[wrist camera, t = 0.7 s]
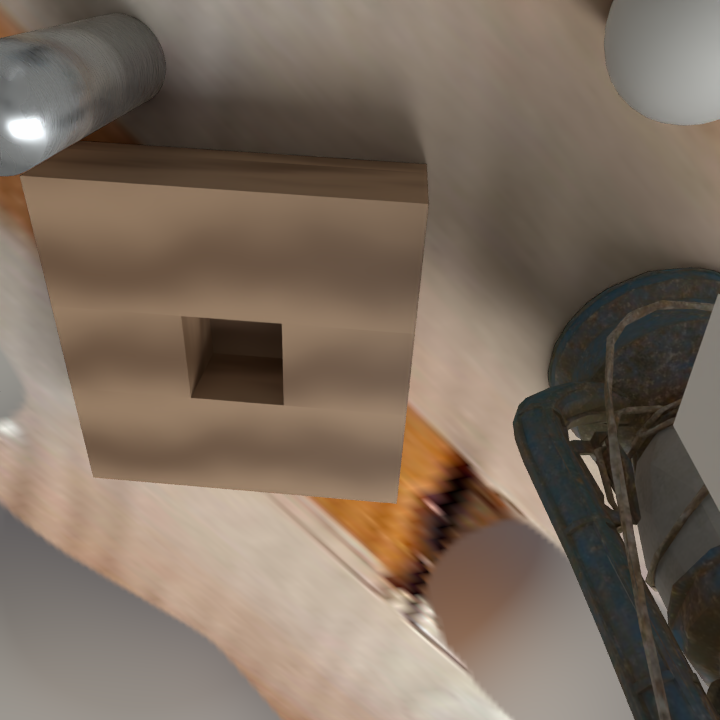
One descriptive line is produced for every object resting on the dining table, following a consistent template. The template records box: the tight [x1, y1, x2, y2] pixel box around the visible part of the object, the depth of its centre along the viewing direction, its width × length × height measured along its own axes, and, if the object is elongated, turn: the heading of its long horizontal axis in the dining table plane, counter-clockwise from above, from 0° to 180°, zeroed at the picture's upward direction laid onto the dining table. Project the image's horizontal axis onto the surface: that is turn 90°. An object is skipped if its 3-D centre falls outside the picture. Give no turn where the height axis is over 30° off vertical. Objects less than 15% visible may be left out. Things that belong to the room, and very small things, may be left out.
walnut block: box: [20, 141, 429, 504], centre depth 35 cm, size 18×18×6 cm
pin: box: [0, 13, 166, 176], centre depth 26 cm, size 4×4×12 cm
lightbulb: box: [604, 0, 720, 125], centre depth 24 cm, size 6×6×11 cm
